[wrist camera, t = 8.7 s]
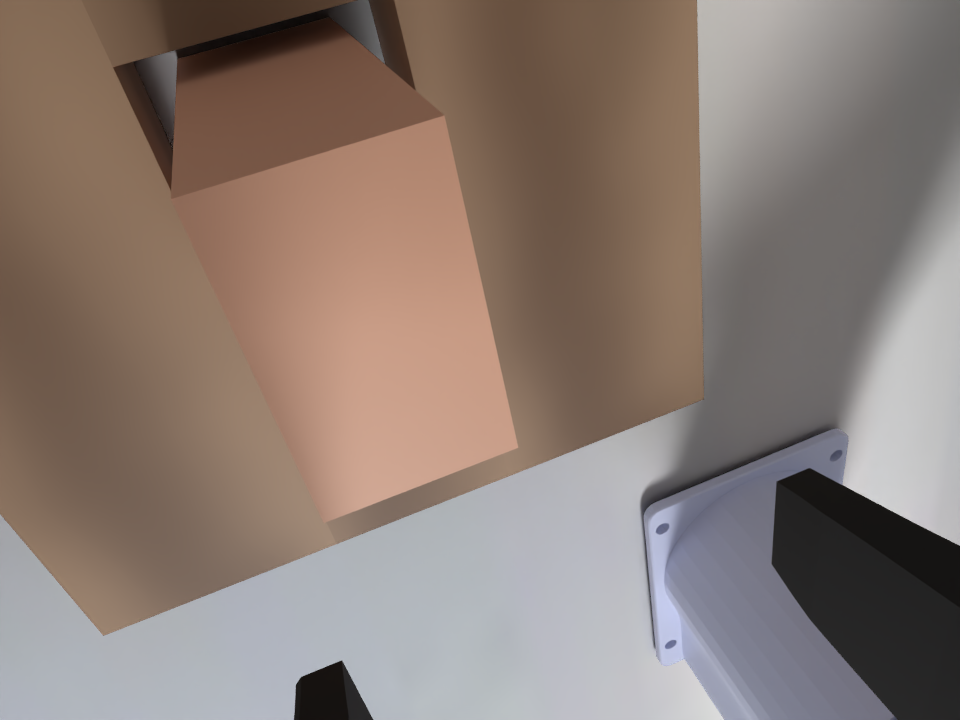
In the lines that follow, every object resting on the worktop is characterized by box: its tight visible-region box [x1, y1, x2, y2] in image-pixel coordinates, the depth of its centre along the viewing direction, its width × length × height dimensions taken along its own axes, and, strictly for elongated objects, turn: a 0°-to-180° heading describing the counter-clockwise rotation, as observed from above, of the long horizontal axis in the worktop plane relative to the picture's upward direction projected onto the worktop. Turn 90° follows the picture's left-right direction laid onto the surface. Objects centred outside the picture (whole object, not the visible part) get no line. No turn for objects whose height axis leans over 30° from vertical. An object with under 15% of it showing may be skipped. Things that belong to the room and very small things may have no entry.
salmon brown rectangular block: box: [171, 17, 518, 523], centre depth 12 cm, size 3×5×8 cm, turn 11°
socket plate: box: [0, 0, 704, 636], centre depth 15 cm, size 16×16×2 cm
